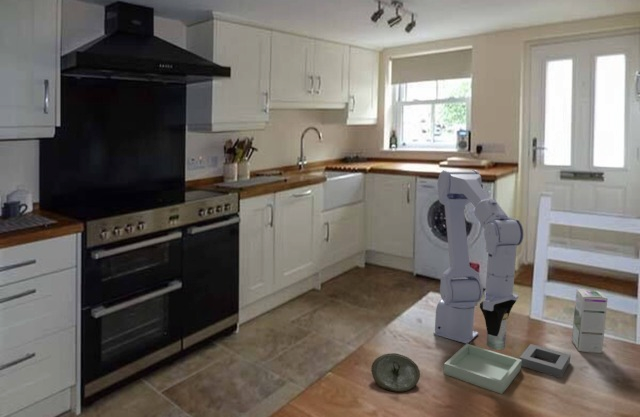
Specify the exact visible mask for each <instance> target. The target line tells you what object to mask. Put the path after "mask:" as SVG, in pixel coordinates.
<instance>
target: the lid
mask: <svg viewBox="0 0 640 417" xmlns="http://www.w3.org/2000/svg"><path fill="white" fill-rule="evenodd" d="M371 374H372V378H373V380H374V382H375V383H376V384H377V385H378V386H379V387H380V388H382V389H384V390H386V391H389V392H395V393H397V392H398V393H402V392H409V390H412V389H413V388H414V387H415V386H417V385H418V383H419V381H420V378H421V371H420V368H419V365H418V364H417V363H416V362H415V361H414V360H412V359H410V358H409V357H407V356H405V355H403V354H399V353H395V352H394V353H385V354H382V355H380V356H378V357H377V358H376V359H374V360H373V362H372V365H371Z"/></svg>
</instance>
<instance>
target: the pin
mask: <svg viewBox="0 0 640 417" xmlns="http://www.w3.org/2000/svg"><path fill="white" fill-rule="evenodd" d="M507 318H508V319H509V316H508V313H507V312H506V313H505V314H504V316H503V319H502V322H501V327H500V331H499V334H498V336H493V335H489V334H488V333H486V346H487V347H488V348H489V349H492V350H497V351H500V350H501V351H503V350H505V349H506V341H507V331H508V330H507V328H508V319H507Z"/></svg>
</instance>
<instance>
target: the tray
mask: <svg viewBox="0 0 640 417" xmlns="http://www.w3.org/2000/svg"><path fill="white" fill-rule="evenodd" d="M521 362H522V360H521V359H520V358H516V357H514V356H510V355H507V354H503V353H501V352H496V351H493V350H489V349H486V348H483V347H479V346H477V345H473V344H469V343H468V344H464V345H463V346H462V347H461V348H460V349H458V351H456V352H455V354H453V355H452V356H451V357H449V359H448V360H447V361H445V362H444V363H443V364H444V365H443V375H446V376H449V377H452V378H454V379H457V380H461V381H464V382H466V383H468V384H471V385H474V386H478V387H480V388H483V389H486V390H489V391H492V392H495V393H498V394H500V395H503V393H505V391H506V390H507V389H508V387H510V385H511V384H512V382H513V381H514V379H516V377H517V376H518V374H519V373H520V371H522V366H521Z"/></svg>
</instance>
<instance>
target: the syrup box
mask: <svg viewBox="0 0 640 417" xmlns="http://www.w3.org/2000/svg"><path fill="white" fill-rule="evenodd" d="M575 291H576V292H575V301H574V302H575V303H574V311H573V313H574V314H573V322H572V323H573V324H572V335H571V336H572V337H571V342H572V344H573V345H574V346H575V348H576V350H577V352H583V353H585V352H586V353H593V354H596V353H597V354H603V349H604V348H603V347H604V340H605V328H606V319H607V306H608V297H607V296H605V294H604V293H602V291H600V290H596V289H589V288H588V289H583V288H582V289H581V288H579V289H576V290H575Z"/></svg>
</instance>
